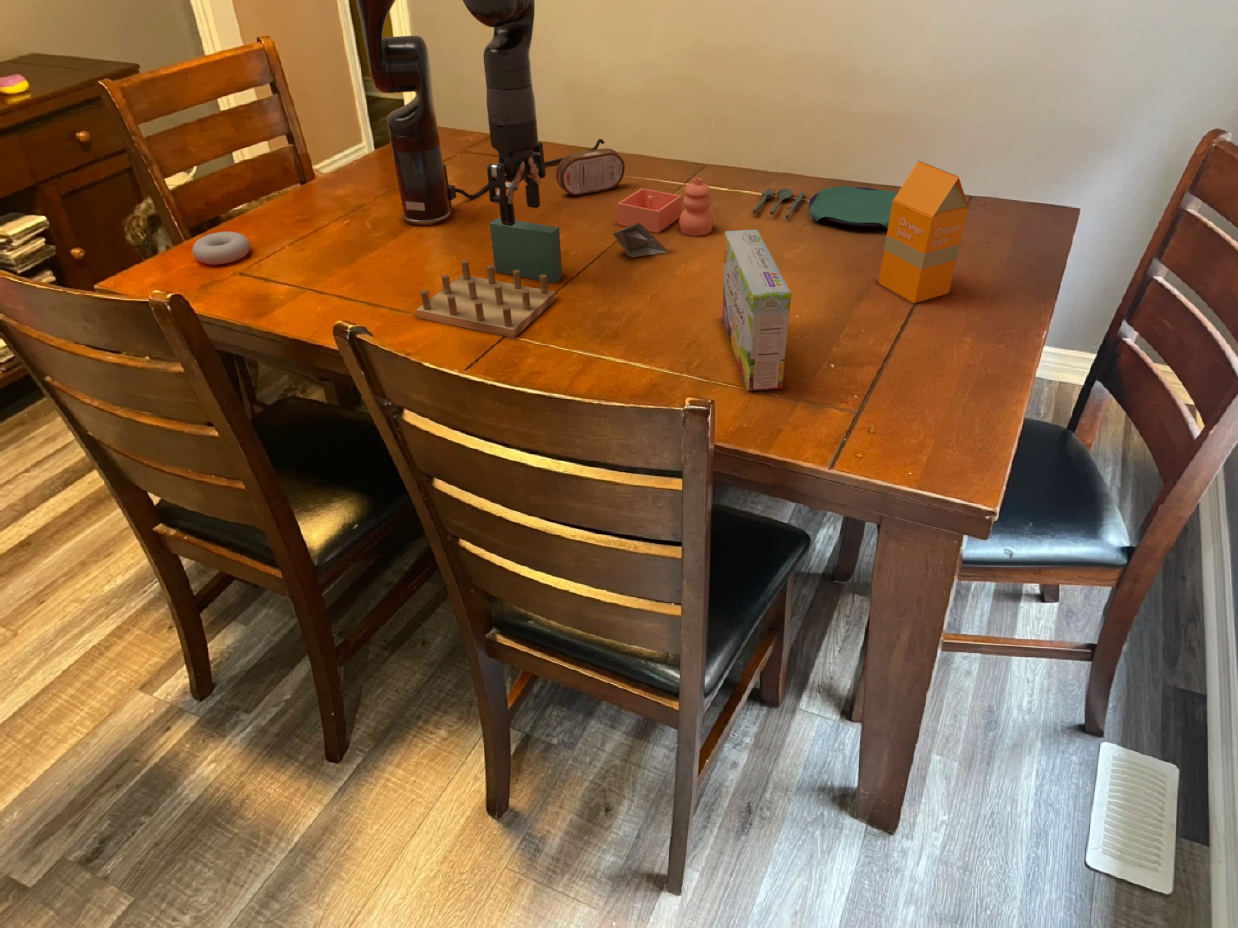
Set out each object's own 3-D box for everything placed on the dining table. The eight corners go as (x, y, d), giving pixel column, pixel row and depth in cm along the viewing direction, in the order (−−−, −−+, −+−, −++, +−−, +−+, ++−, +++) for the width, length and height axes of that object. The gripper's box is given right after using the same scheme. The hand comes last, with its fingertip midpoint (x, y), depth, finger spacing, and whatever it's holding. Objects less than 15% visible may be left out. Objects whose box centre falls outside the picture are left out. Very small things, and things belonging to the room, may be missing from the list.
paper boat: (650, 232, 161) (685, 233, 154) (642, 266, 162) (676, 268, 155) (603, 211, 153) (638, 211, 146) (595, 247, 153) (629, 248, 147)
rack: (463, 282, 148) (460, 258, 146) (555, 299, 142) (554, 274, 140) (417, 317, 138) (412, 292, 136) (514, 338, 132) (511, 311, 130)
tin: (620, 183, 186) (619, 143, 181) (627, 187, 184) (626, 148, 179) (556, 195, 181) (554, 155, 176) (562, 200, 179) (559, 159, 174)
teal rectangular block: (503, 265, 154) (497, 217, 148) (562, 276, 150) (559, 227, 144) (495, 272, 152) (489, 223, 146) (555, 283, 148) (551, 233, 142)
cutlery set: (904, 239, 159) (906, 227, 158) (747, 220, 168) (747, 208, 167) (916, 202, 174) (918, 191, 172) (770, 186, 183) (771, 175, 181)
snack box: (718, 320, 135) (723, 229, 126) (753, 318, 136) (760, 227, 127) (745, 393, 119) (753, 293, 110) (784, 390, 119) (796, 291, 110)
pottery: (617, 224, 168) (616, 174, 162) (641, 208, 174) (641, 159, 168) (700, 241, 160) (702, 190, 154) (721, 224, 167) (724, 174, 161)
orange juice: (913, 303, 139) (939, 181, 127) (877, 282, 145) (898, 164, 133) (949, 292, 141) (978, 172, 129) (912, 272, 148) (936, 155, 136)
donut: (184, 266, 156) (233, 269, 155) (178, 248, 154) (227, 251, 153) (215, 244, 164) (262, 246, 162) (209, 227, 162) (257, 229, 160)
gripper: (514, 101, 140) (522, 199, 150) (467, 124, 130) (479, 227, 140) (554, 105, 138) (560, 204, 148) (509, 129, 127) (519, 234, 137)
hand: (521, 215), depth 144 cm, fingers open, 8 cm apart
